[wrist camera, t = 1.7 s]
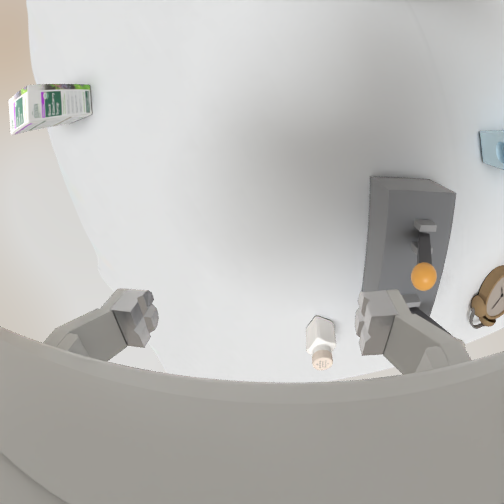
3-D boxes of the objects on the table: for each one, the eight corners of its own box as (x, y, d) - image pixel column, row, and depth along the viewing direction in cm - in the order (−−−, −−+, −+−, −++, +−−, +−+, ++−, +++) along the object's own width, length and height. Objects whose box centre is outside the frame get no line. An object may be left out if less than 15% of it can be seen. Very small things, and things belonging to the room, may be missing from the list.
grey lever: (398, 317, 34) (453, 366, 24) (401, 302, 33) (461, 352, 23) (409, 311, 35) (464, 357, 25) (413, 297, 34) (471, 342, 23)
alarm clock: (523, 287, 35) (486, 342, 39) (510, 278, 40) (475, 331, 44) (511, 259, 33) (470, 322, 37) (496, 251, 38) (457, 310, 42)
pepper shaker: (315, 313, 47) (318, 352, 38) (334, 320, 47) (340, 359, 38) (304, 328, 48) (305, 368, 40) (322, 335, 49) (326, 374, 40)
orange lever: (412, 243, 30) (407, 293, 22) (415, 224, 29) (413, 268, 20) (431, 246, 29) (433, 298, 20) (434, 227, 28) (440, 273, 19)
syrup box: (93, 114, 35) (29, 122, 22) (70, 124, 36) (8, 136, 23) (90, 84, 33) (27, 83, 20) (67, 95, 34) (6, 100, 21)
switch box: (359, 304, 45) (371, 345, 36) (370, 176, 35) (394, 194, 26) (410, 301, 43) (428, 338, 34) (429, 179, 34) (464, 197, 25)
